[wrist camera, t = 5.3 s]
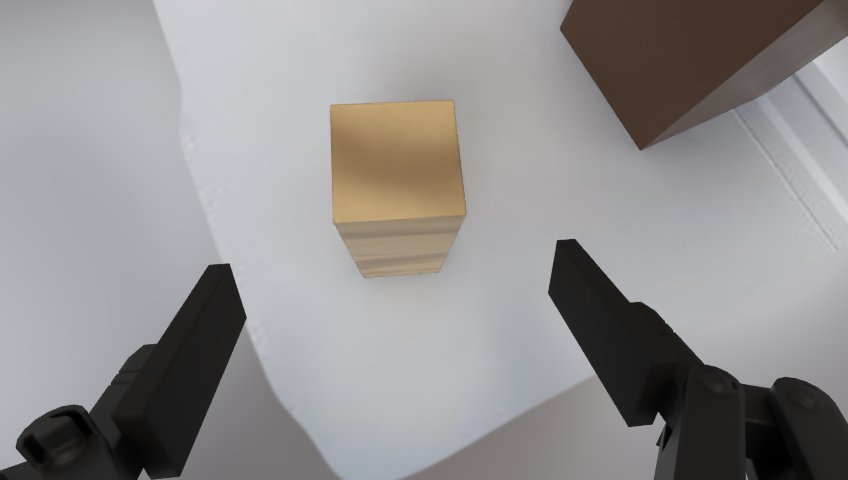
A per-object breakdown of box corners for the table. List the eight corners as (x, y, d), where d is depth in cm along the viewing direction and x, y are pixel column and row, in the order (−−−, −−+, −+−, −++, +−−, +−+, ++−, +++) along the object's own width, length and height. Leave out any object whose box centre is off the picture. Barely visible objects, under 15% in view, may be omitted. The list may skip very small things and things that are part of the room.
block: (438, 272, 27) (467, 215, 15) (363, 278, 26) (332, 223, 15) (432, 202, 28) (453, 99, 16) (360, 206, 27) (329, 104, 16)
